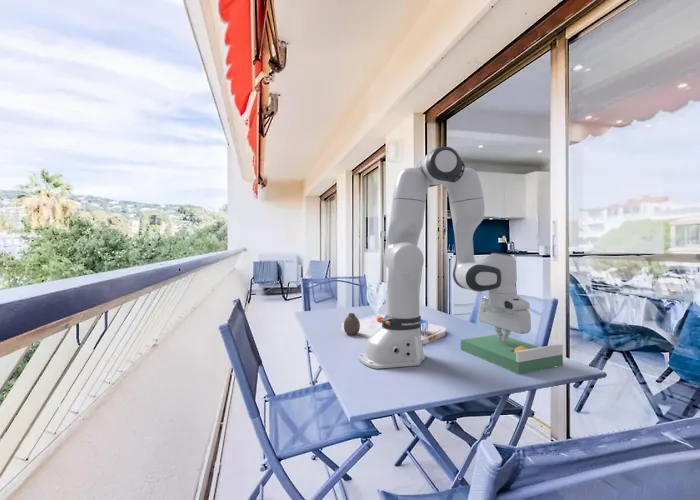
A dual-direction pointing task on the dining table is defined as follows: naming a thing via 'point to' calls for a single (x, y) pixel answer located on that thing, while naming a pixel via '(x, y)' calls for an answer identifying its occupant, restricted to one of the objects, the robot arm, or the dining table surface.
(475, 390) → the dining table surface
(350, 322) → the vase
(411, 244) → the robot arm
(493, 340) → the green
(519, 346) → the ball
